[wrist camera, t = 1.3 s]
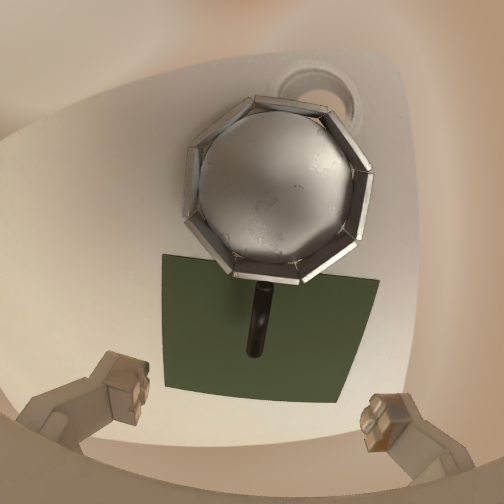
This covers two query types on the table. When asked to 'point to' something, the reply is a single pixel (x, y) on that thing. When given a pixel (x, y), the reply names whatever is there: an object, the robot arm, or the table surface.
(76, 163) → the table surface
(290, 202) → the octagonal skillet
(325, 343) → the mat
